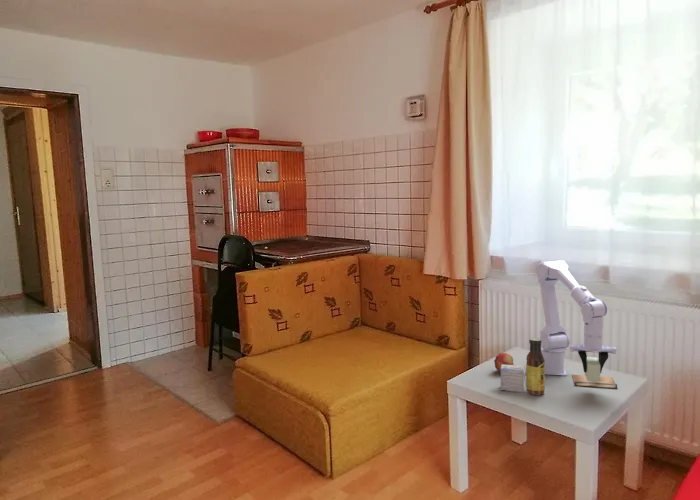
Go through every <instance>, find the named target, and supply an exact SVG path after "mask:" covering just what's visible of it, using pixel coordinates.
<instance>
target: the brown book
mask: <svg viewBox="0 0 700 500" xmlns="http://www.w3.org/2000/svg"><path fill="white" fill-rule="evenodd" d="M571 377H572V381H573V384H574V386H575V387H589V388H590V387H592V388H604V389H617V390H618V383H616V382H615V380H614V377H612V376H611V377H610V376H602V375H600V382H599V381H587V378H586V375H583V374H572V375H571Z"/></svg>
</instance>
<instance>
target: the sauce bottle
mask: <svg viewBox="0 0 700 500" xmlns="http://www.w3.org/2000/svg"><path fill="white" fill-rule="evenodd" d="M541 349H542V346H541V339H540V337H529V352H528V353H527V355H526V358H525V359H526V364H525V371H526V372H525V373H526V374H525V376H526V377H525V380H526V381H525V382H526V383H525V386H526V392H527V393H528V394H529V395H532V396H542V395H543V394H545V387H546V382H545V381H546V376H545V375H546V374H545V360H544V358H543V355H542V352H541Z"/></svg>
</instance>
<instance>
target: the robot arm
mask: <svg viewBox="0 0 700 500" xmlns="http://www.w3.org/2000/svg"><path fill="white" fill-rule="evenodd" d="M569 269H570V267H569V265H568V264H567V262H566V261H565V260H563V259H559V260H553V261H551V260H550V261H540V262H539V263H538V265H537V267H536V275H537V282H538V284H539V287H540V294H541V303H542V308H543V315H544V322H545V326H544V327H543V328H542V329H541V330H540V332H539V333H540V337H539V338H540V339H541V352H542V355H543V358H544V360H545V375H551V376H567V371H566V368H565V367H566V366H565V352H566V351H567V348H569V351H570V352H572V353H573V352H578V356H579V359H580V360H581V363H582V367H583V373H585V372H586V371H587V368H586V361H587V357H588V356H587V353H596V354H597V353H598V361H599V363H600V374H602V371H603V368H604V366H605V363H606V362H607V360H608V359H609V354H613V355H617V348H616V346H608V345H603V324H604V323H603V322H604V317H605V316H606V315H607V313H608V308H607V307H608V306H607V304H606V303H605V301H604V300H602V299H598V298H596V297H595V296H594V294H592V293H591V292H590V291H589V290H588V288H587V286H584V285H580V284H579V283H578V281H576V279H575V277H574V276H573V275H572V273H571V272H570V270H569ZM559 281H560V282H561V283H562V284H563V285H564V286H565V287H566V288H567V289H568V290H569V291H570V297H572V299H573V300H574V302H576V303H577V305H579V307H580V312H581V315H582V321H583V322H584V328H583V330H584V331H583V334H584V335H583V343H580V344H570V343H571V338H570V337H569V335H568V330H567V328H565V327H564V326H563V325H561V320H560V313H559V307H558V300H557V295H556V289H555V288H556V287H555V285H556V283H558V282H559Z"/></svg>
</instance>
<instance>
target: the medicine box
mask: <svg viewBox="0 0 700 500" xmlns="http://www.w3.org/2000/svg"><path fill="white" fill-rule="evenodd" d="M501 390H506V391H505V392H514V391H517V393H524V366H523V365H517V364H516V365H515V364H514V365H503V364H502V365H501V372H500V391H501Z"/></svg>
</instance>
